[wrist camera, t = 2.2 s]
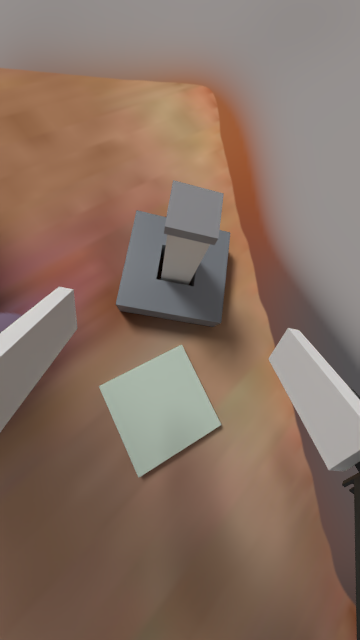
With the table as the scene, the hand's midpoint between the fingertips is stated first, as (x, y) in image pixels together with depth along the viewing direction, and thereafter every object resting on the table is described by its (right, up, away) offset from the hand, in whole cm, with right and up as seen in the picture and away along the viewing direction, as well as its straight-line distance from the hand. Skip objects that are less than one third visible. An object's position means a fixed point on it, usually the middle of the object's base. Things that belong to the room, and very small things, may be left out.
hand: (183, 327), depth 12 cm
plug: (-1, +7, +18) cm, 20 cm away
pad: (-3, -11, +14) cm, 18 cm away
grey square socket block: (-1, +7, +18) cm, 20 cm away
